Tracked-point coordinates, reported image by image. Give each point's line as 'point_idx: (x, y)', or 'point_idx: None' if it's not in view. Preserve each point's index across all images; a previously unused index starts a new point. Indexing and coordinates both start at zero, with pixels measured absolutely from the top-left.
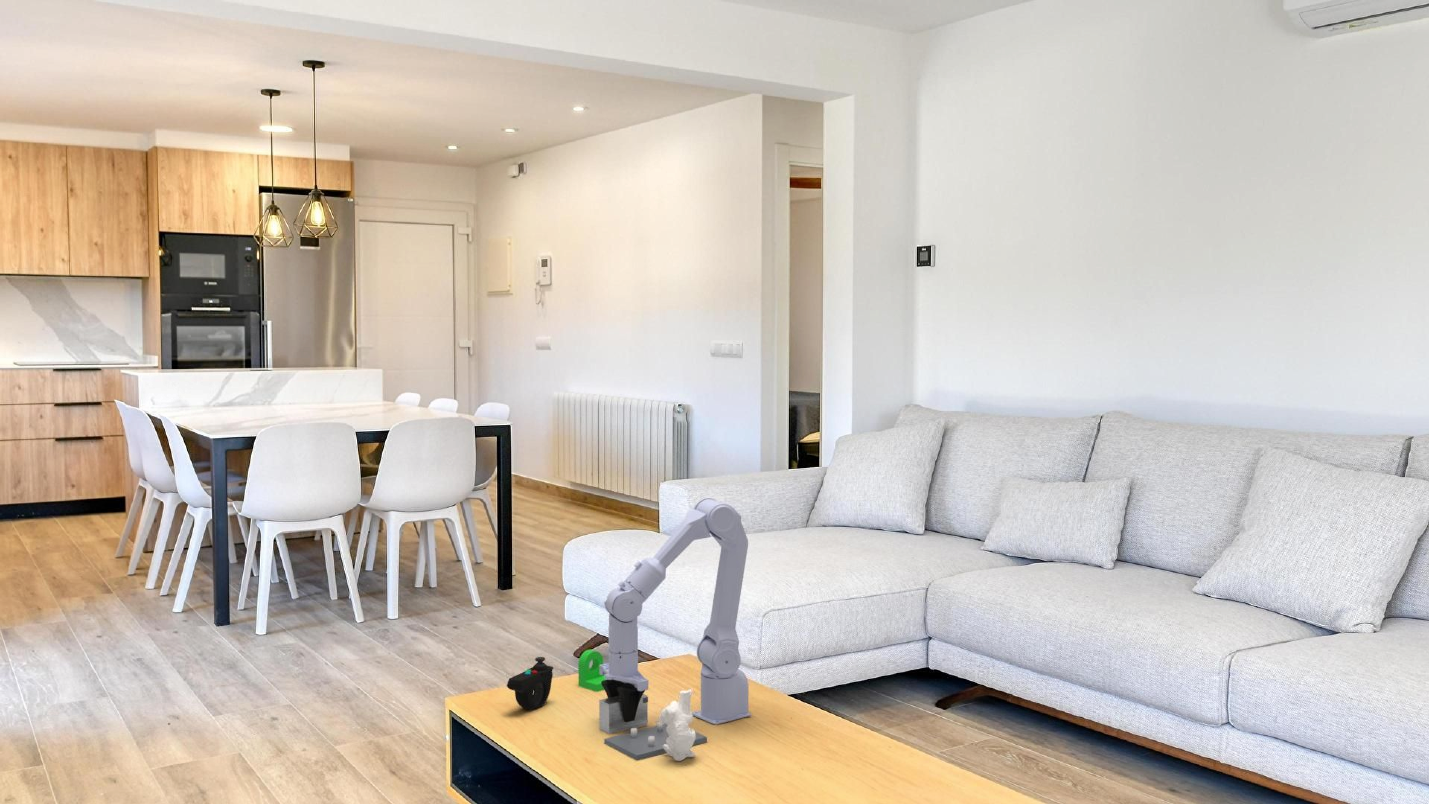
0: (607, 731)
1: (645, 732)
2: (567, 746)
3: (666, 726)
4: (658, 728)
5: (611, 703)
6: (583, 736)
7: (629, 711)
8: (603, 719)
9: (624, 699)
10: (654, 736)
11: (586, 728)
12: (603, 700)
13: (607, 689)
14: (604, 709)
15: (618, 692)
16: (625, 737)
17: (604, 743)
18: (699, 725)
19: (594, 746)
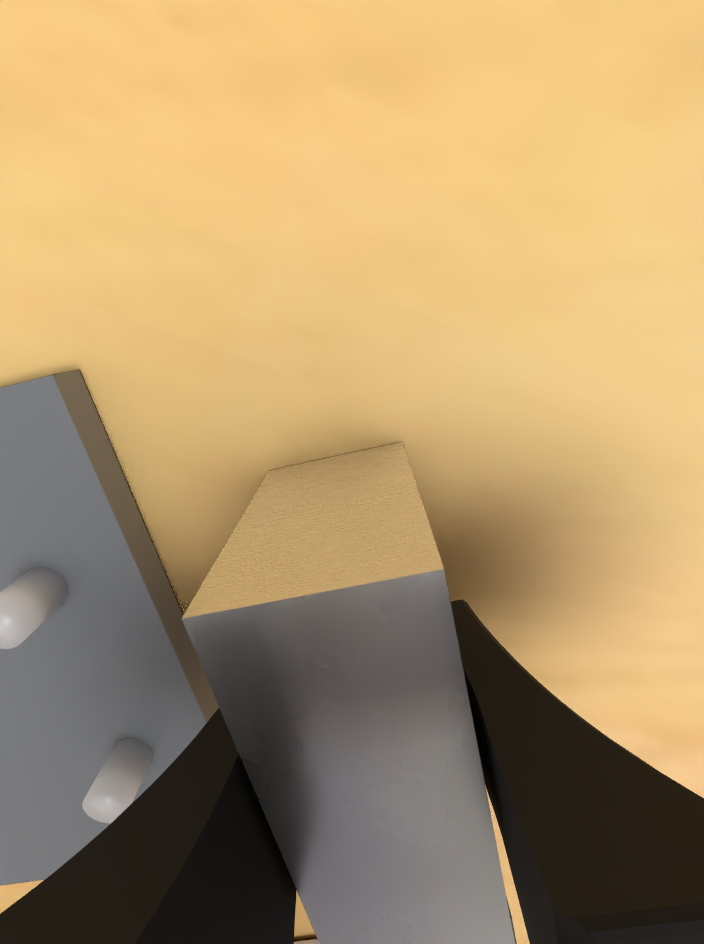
0: (289, 473)
1: (118, 676)
2: (106, 17)
3: None
4: (107, 760)
5: (214, 658)
6: (318, 270)
7: None
8: (341, 491)
9: (98, 836)
10: (27, 695)
11: (495, 362)
12: (395, 612)
13: (555, 815)
14: (314, 544)
15: (149, 907)
16: (51, 534)
17: (74, 371)
18: None
19: (50, 277)
